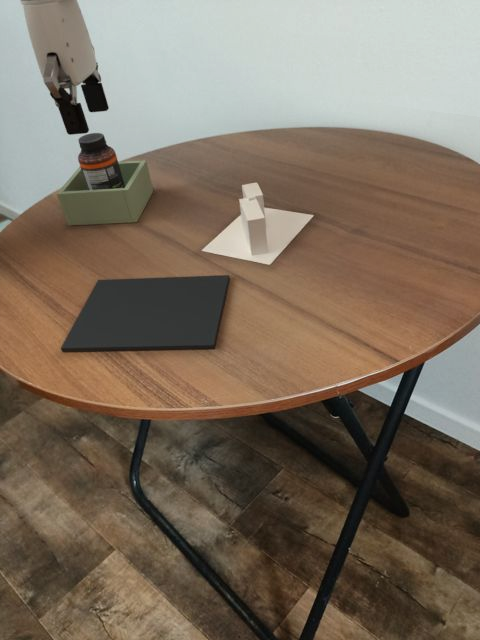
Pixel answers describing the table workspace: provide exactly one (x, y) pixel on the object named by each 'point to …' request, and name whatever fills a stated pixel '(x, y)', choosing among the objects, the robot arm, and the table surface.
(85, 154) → the supplement bottle
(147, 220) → the table surface
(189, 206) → the table surface
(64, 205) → the bin
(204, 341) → the mat
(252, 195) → the napkin holder
